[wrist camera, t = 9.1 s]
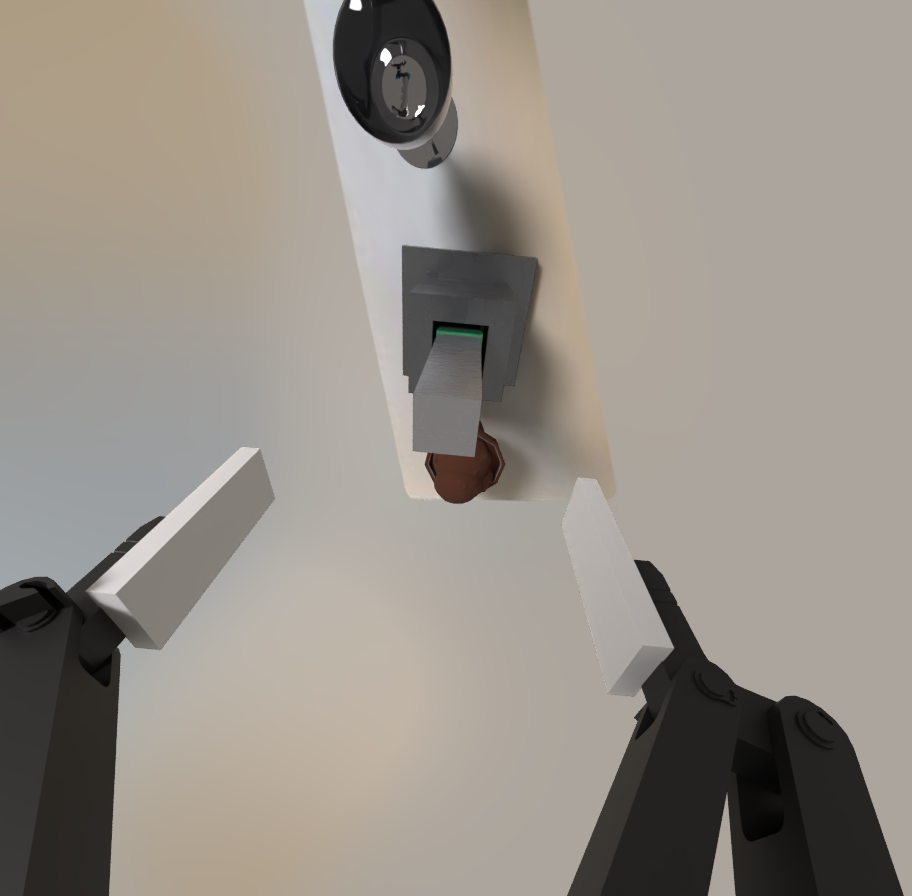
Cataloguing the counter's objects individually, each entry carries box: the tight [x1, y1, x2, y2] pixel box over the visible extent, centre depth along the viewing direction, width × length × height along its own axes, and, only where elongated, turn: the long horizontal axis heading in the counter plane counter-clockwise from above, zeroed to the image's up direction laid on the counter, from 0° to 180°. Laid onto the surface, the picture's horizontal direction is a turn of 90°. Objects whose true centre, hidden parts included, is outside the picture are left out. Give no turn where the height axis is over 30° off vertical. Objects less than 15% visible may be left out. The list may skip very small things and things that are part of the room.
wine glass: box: [333, 0, 458, 168], centre depth 29 cm, size 8×8×15 cm
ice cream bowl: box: [425, 421, 505, 504], centre depth 48 cm, size 11×11×15 cm
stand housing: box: [402, 245, 538, 402], centre depth 39 cm, size 16×16×15 cm
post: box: [413, 322, 483, 457], centre depth 30 cm, size 4×4×21 cm
